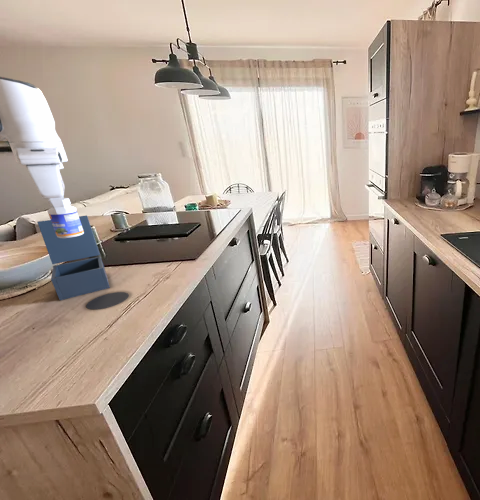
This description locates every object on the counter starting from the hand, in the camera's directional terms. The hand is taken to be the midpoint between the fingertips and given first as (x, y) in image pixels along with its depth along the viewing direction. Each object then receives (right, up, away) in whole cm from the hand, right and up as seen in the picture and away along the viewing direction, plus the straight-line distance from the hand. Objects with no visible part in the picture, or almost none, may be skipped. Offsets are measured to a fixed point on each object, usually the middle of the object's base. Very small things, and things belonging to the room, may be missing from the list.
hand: (62, 211), depth 74 cm
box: (-3, -21, +10) cm, 24 cm away
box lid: (-8, -7, +10) cm, 14 cm away
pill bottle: (0, -6, +2) cm, 7 cm away
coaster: (+10, -24, +3) cm, 26 cm away
